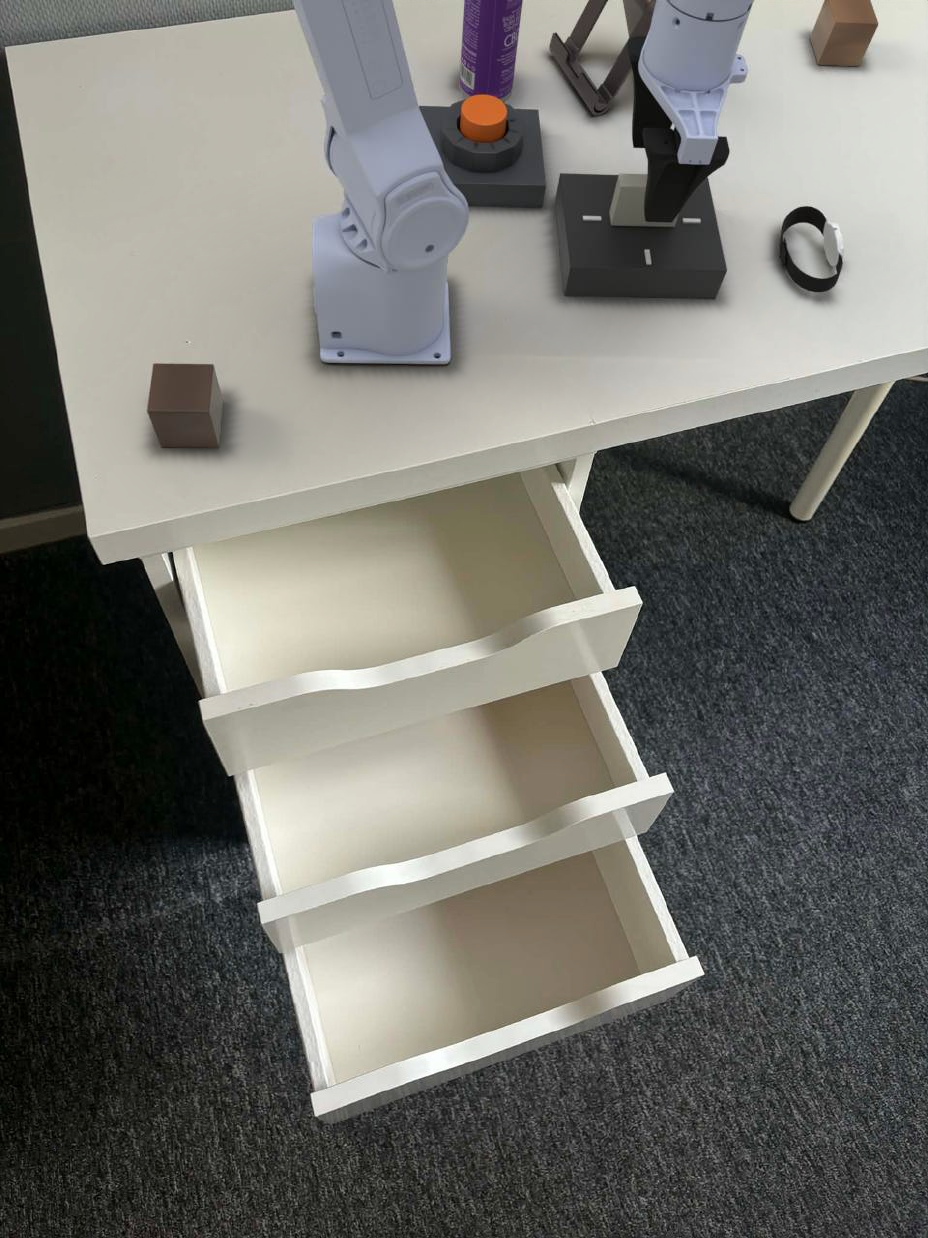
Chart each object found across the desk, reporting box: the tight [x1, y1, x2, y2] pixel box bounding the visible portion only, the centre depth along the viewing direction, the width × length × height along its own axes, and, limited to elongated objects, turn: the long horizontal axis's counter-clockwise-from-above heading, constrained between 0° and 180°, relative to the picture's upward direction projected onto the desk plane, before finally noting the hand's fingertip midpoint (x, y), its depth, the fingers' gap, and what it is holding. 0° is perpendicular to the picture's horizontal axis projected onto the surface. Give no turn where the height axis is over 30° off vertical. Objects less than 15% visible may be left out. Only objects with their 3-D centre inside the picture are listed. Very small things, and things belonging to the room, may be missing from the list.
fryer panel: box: [554, 172, 728, 300], centre depth 74 cm, size 12×10×3 cm
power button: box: [460, 95, 507, 143], centre depth 75 cm, size 4×4×2 cm
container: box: [458, 0, 524, 103], centre depth 76 cm, size 5×5×15 cm
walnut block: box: [146, 362, 224, 449], centre depth 64 cm, size 4×4×4 cm
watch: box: [778, 205, 845, 293], centre depth 75 cm, size 8×5×4 cm, turn 8°
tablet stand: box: [548, 0, 656, 117], centre depth 81 cm, size 9×8×8 cm
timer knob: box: [609, 173, 679, 227], centre depth 71 cm, size 5×1×4 cm, turn 92°
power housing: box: [418, 98, 547, 209], centre depth 77 cm, size 10×9×4 cm
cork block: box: [809, 0, 879, 67], centre depth 87 cm, size 4×4×4 cm
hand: (652, 181), depth 70 cm, fingers open, 7 cm apart
